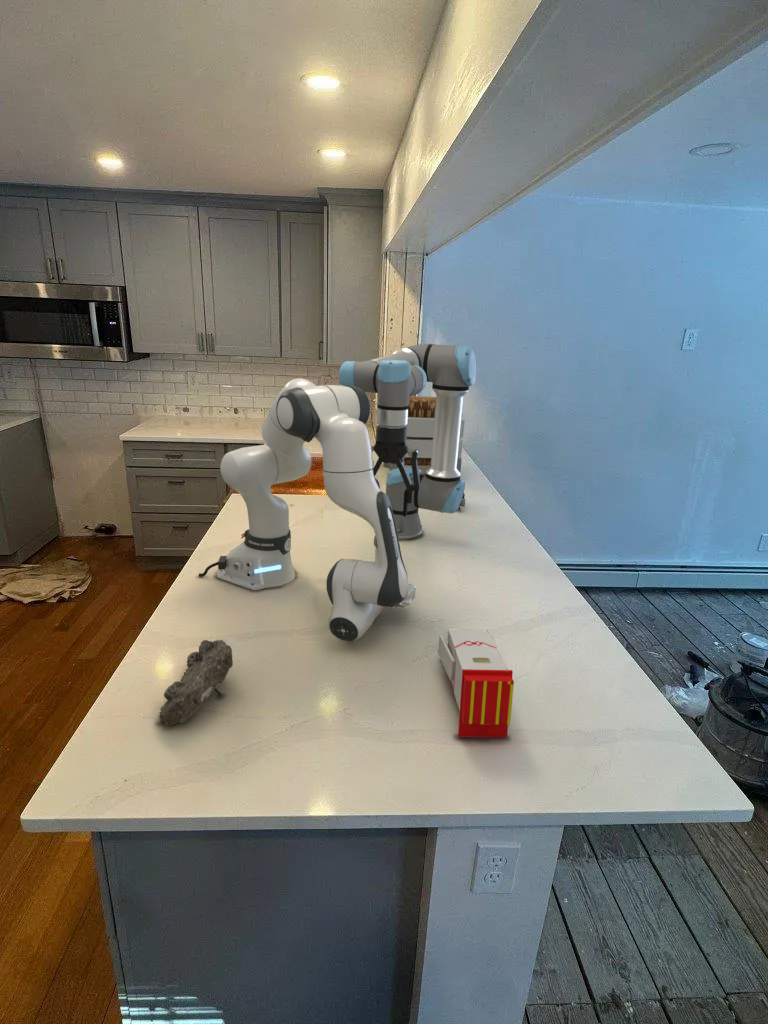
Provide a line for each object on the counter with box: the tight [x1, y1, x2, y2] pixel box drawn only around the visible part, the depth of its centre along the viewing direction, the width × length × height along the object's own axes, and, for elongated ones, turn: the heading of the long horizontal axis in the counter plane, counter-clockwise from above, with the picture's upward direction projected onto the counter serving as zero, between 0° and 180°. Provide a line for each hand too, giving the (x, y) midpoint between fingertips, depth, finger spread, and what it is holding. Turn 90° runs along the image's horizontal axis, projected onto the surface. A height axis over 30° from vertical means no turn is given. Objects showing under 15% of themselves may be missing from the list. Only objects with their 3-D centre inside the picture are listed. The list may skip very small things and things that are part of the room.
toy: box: [437, 628, 515, 738], centre depth 117 cm, size 12×13×30 cm
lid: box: [373, 534, 400, 548], centre depth 149 cm, size 6×6×2 cm
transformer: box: [382, 395, 465, 475], centre depth 268 cm, size 34×33×41 cm
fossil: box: [158, 639, 234, 726], centre depth 113 cm, size 22×10×15 cm
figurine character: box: [457, 493, 466, 511], centre depth 229 cm, size 7×8×15 cm
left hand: (385, 576), depth 153 cm, fingers closed on jar, 5 cm apart
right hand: (387, 512), depth 146 cm, fingers open, 8 cm apart
